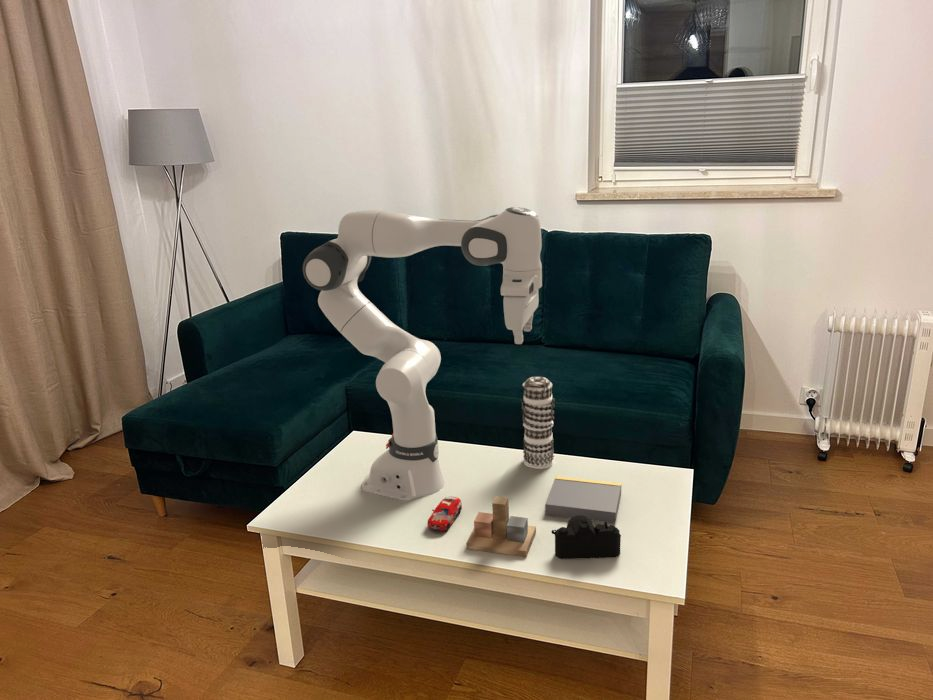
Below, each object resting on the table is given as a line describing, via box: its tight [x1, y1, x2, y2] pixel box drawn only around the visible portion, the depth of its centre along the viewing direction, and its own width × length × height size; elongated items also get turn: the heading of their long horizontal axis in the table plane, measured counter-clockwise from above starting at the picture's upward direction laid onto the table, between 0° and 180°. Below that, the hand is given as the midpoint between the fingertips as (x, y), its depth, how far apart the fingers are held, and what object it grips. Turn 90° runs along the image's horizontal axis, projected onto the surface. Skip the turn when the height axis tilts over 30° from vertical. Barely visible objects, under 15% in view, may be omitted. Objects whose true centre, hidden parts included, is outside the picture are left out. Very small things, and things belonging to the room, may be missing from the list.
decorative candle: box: [520, 375, 556, 470], centre depth 199 cm, size 9×9×25 cm
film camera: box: [551, 515, 622, 560], centre depth 162 cm, size 15×10×9 cm, turn 89°
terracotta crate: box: [473, 511, 493, 538], centre depth 167 cm, size 4×4×4 cm
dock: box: [544, 475, 622, 524], centre depth 181 cm, size 17×14×3 cm
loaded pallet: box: [465, 496, 537, 558], centre depth 166 cm, size 14×10×12 cm
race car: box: [426, 496, 463, 532], centre depth 176 cm, size 13×5×4 cm, turn 159°
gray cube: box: [506, 515, 529, 543], centre depth 165 cm, size 4×4×4 cm
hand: (523, 336), depth 170 cm, fingers open, 8 cm apart
